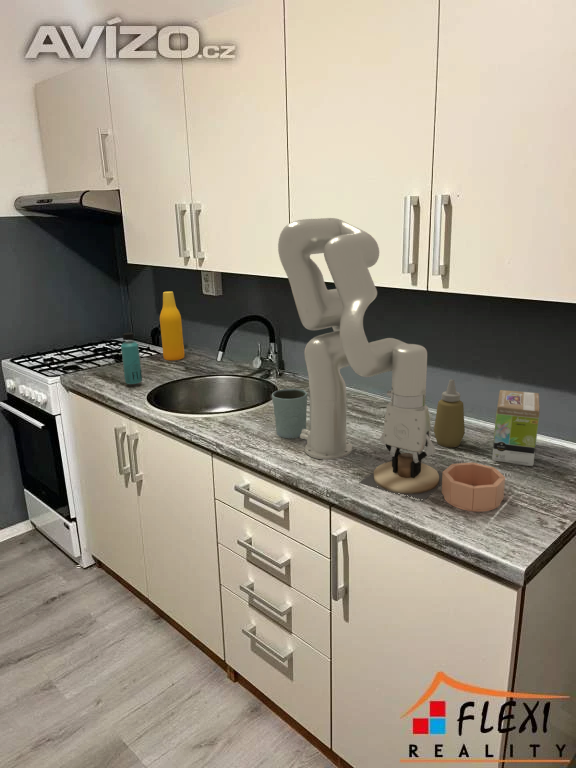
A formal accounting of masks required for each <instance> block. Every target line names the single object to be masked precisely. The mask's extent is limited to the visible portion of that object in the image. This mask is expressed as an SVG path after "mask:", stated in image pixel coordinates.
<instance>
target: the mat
mask: <svg viewBox="0 0 576 768" xmlns="http://www.w3.org/2000/svg"><path fill="white" fill-rule="evenodd" d="M391 461H392V459H390V460H389V461H388V462H391ZM436 471H437V472H438V474H439V483H438V485H437V486H436V487H435V488H434V489H432V490H430V491H427V492H423V493H417V494H404V493H400V494H404V495H406V496H405V497H404V498H407V497H408V496H409V497H411V496H412V497H413V498H414V497H415V498H417V499H418V498H419V499H420V501H421V499H423V500H424V499H425V500H426V499H427V498H429V496H431V495H432V494H433V493H434V492H435V491H436V490H437V489H438V488H440V487H442V475H443V471H439V470H436ZM359 484H362V485H365V486H369V487H371V488H375V489H377V488H378V489H377V490H382V491H384V490H385V492H387V491H388V492H387V493H390V492H391V494H394V493H395V494H394V495H397V494H398V493H397V492H393V491H389V490H386V489H384V488H382V487H380V486H379V485H378V484H377V483H376V482H375V480H374V471H373V472H372V473H371V474H369V475H368V476H366V477H364V479H362V480H361V481H359ZM377 486H378V487H377ZM400 494H398V495H397V496H400ZM407 495H408V496H407ZM423 500H422V502H424V501H425V500H424V501H423ZM413 501H416V500H415V499H414V500H413ZM420 501H419V502H420Z"/></svg>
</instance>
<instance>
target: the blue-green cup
mask: <svg viewBox="0 0 576 768" xmlns="http://www.w3.org/2000/svg"><path fill="white" fill-rule="evenodd" d="M271 398H272V406H273V412H274V413H273V415H274V417H275V419H274V420H275V422H274V423H275V429H276V430H275V431H276V434H277V436H278V437H279V438H284V439H297V438H298V439H299V438H300V434H301V433H302V430H303V429H307V416H308V415H307V412H308V411H307V410H308V408H307V406H308V392H307V391H306V390H304V389H300V388H282V389H278V390H275V391H274V392H272V394H271Z"/></svg>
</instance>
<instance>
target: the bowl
mask: <svg viewBox="0 0 576 768" xmlns="http://www.w3.org/2000/svg"><path fill="white" fill-rule="evenodd" d="M442 472H443V475H442V485H441V494H442V495H443V498H444V500H445V501H446V503H448V505H451V506H453V507H454V508H456V509H459V510H460V509H461V510H463V511H468V512H478V513H479V512H488V511H489V512H490V511H493V510H495V509H497V508H499V506H500V505H501V503H502V501H503V500H504V496H505V485H506V484H505V483H506V477H505V476H504V475H503V474H502V473H501V472H500V471H499V470H498V469H497V467H494V466H490V465H485V464H482V463H477V462H475V461H474V462H473V461H471V462H461V463H460V462H459V463H452V464H450V465H449V466H448V467H446V469H444V470H443V471H442Z"/></svg>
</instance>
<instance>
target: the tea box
mask: <svg viewBox="0 0 576 768" xmlns="http://www.w3.org/2000/svg"><path fill="white" fill-rule="evenodd" d="M498 393H499V394H498V399H497V405H496V411H495V412H496V414H495V421H494V432H493V433H494V435H493V444H492V445H493V447H492V457H491V460H492V461H495V462H504V463H510V464H513V465H519V466H529V467H533V466H534V463H535V455H536V447H537V439H538V430H539V429H538V428H539V420H540V413H541V412H540V393H539V392H538V393H537V392H528V391H516V390H505V389H500V390H499V392H498Z"/></svg>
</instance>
